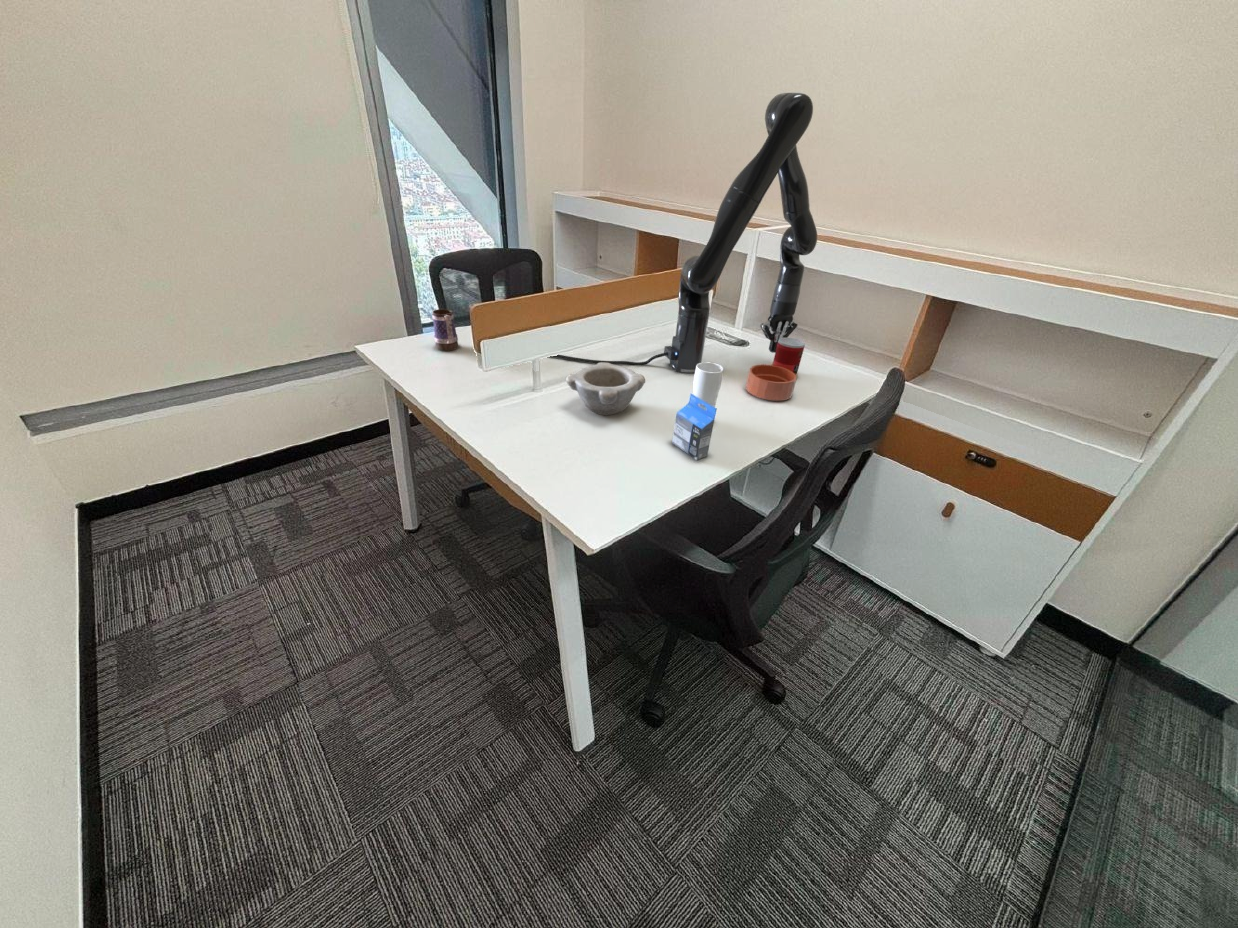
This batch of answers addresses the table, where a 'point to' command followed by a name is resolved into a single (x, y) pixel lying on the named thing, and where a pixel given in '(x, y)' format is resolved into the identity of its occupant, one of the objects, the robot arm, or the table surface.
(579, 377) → the mortar
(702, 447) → the blue product box
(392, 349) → the table surface
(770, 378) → the bowl
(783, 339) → the canned food
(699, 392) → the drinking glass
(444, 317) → the mug
